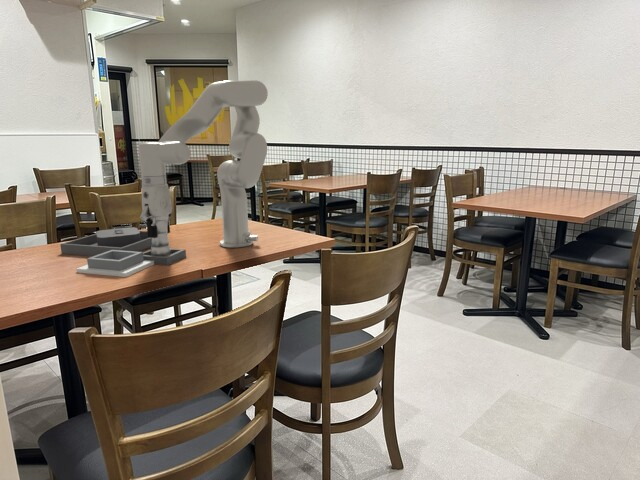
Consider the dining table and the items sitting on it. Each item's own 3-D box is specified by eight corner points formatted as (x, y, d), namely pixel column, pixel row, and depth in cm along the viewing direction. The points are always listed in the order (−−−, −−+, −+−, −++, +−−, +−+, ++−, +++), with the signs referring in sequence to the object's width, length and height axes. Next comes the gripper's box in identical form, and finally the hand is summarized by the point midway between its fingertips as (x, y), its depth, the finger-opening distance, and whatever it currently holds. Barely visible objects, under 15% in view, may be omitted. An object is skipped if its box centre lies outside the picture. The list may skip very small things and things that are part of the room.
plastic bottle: (176, 257, 152) (171, 199, 148) (163, 263, 146) (157, 202, 141) (160, 256, 154) (155, 199, 150) (147, 261, 148) (141, 201, 143)
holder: (186, 256, 154) (185, 249, 153) (167, 265, 143) (166, 257, 143) (156, 254, 157) (155, 247, 156) (136, 262, 147) (135, 255, 146)
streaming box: (142, 247, 165) (140, 233, 164) (99, 252, 158) (97, 238, 157) (137, 239, 177) (136, 226, 176) (97, 243, 171) (95, 230, 170)
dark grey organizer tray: (167, 240, 176) (166, 232, 175) (122, 258, 152) (121, 248, 151) (112, 237, 183) (111, 229, 182) (61, 253, 159) (60, 244, 158)
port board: (155, 263, 145) (153, 251, 144) (126, 277, 132) (124, 263, 131) (109, 260, 150) (107, 248, 149) (76, 272, 137) (74, 259, 136)
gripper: (147, 184, 135) (152, 241, 139) (179, 178, 151) (183, 230, 155) (126, 183, 137) (132, 240, 141) (160, 178, 153) (165, 229, 157)
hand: (159, 234), depth 148 cm, fingers closed on plastic bottle, 6 cm apart
